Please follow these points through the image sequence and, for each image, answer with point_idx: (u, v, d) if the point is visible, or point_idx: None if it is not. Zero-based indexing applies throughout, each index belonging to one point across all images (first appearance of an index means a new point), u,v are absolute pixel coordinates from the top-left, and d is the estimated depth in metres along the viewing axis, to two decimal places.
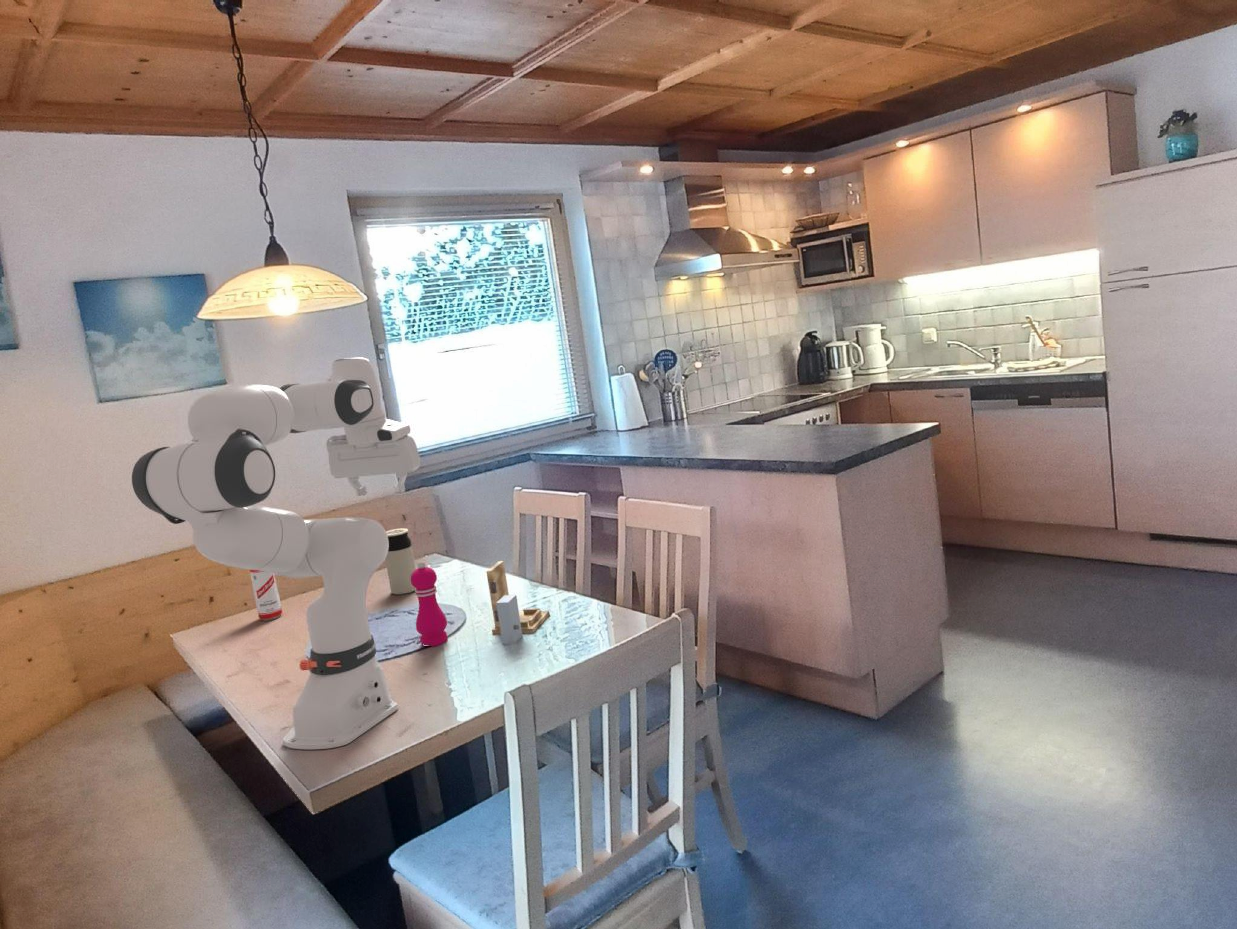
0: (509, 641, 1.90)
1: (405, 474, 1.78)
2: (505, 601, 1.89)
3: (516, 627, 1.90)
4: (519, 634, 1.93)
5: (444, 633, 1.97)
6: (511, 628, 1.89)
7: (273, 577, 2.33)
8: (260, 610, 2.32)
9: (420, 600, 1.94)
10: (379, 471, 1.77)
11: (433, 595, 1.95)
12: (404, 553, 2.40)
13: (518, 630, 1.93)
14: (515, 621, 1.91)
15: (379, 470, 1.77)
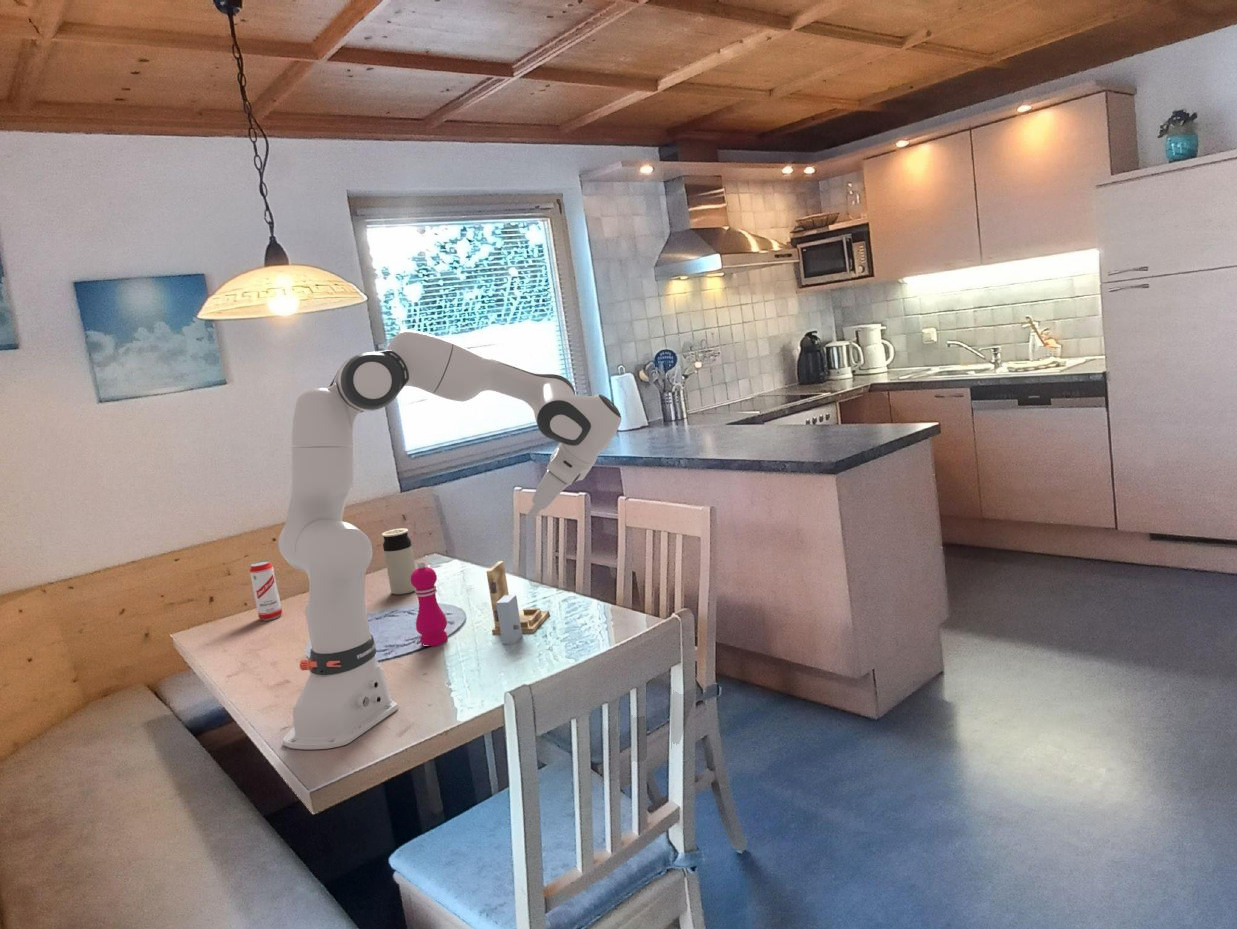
0: (509, 641, 1.90)
1: None
2: (505, 601, 1.89)
3: (516, 627, 1.90)
4: (519, 634, 1.93)
5: (444, 633, 1.97)
6: (511, 628, 1.89)
7: (273, 577, 2.33)
8: (260, 610, 2.32)
9: (420, 600, 1.94)
10: None
11: (433, 595, 1.95)
12: (404, 553, 2.40)
13: (518, 630, 1.93)
14: (515, 621, 1.91)
15: None
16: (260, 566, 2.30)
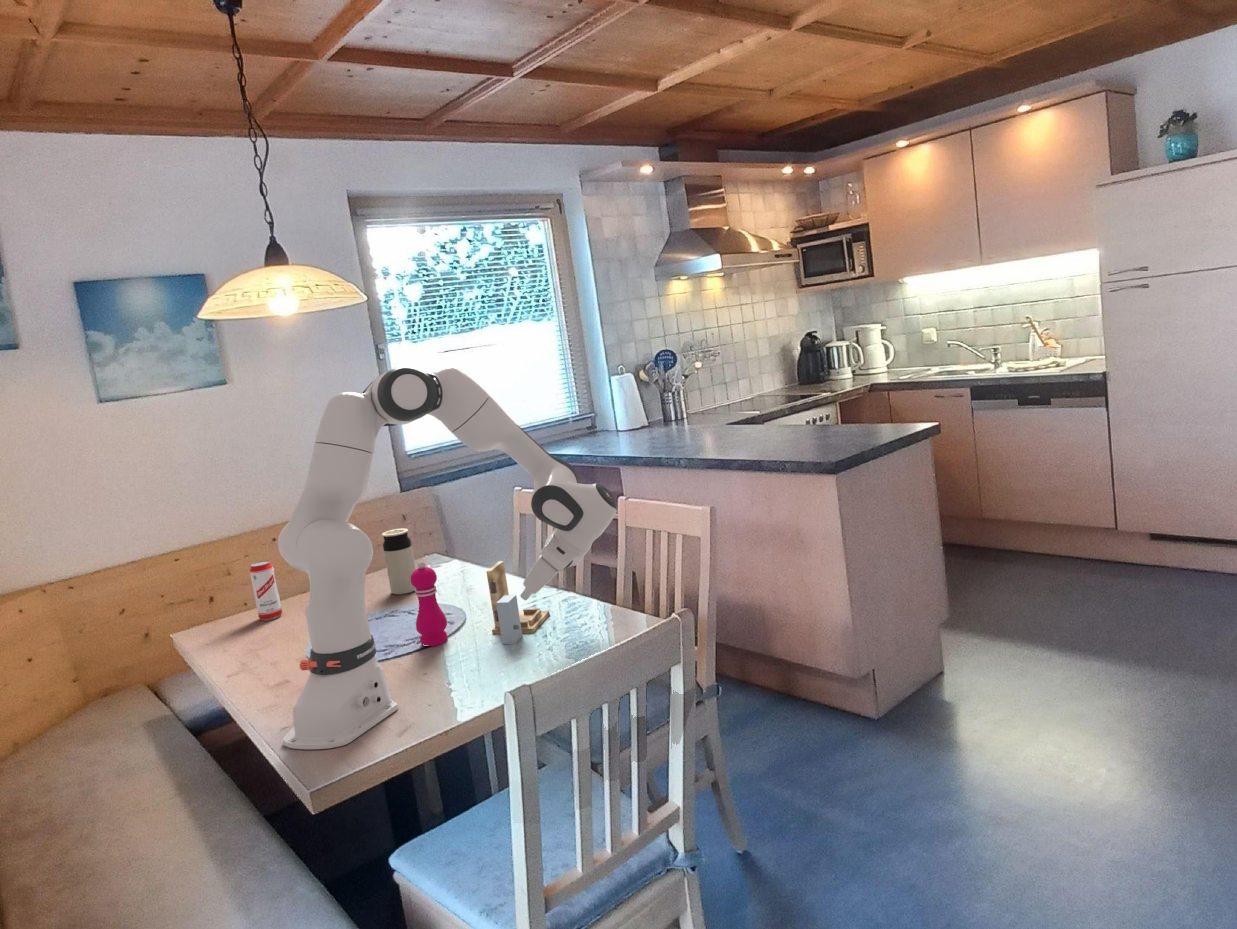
0: (509, 641, 1.90)
1: None
2: (505, 601, 1.89)
3: (516, 627, 1.90)
4: (519, 634, 1.93)
5: (444, 633, 1.97)
6: (511, 628, 1.89)
7: (273, 577, 2.33)
8: (260, 610, 2.32)
9: (420, 600, 1.94)
10: None
11: (433, 595, 1.95)
12: (404, 553, 2.40)
13: (518, 630, 1.93)
14: (515, 621, 1.91)
15: None
16: (260, 566, 2.30)
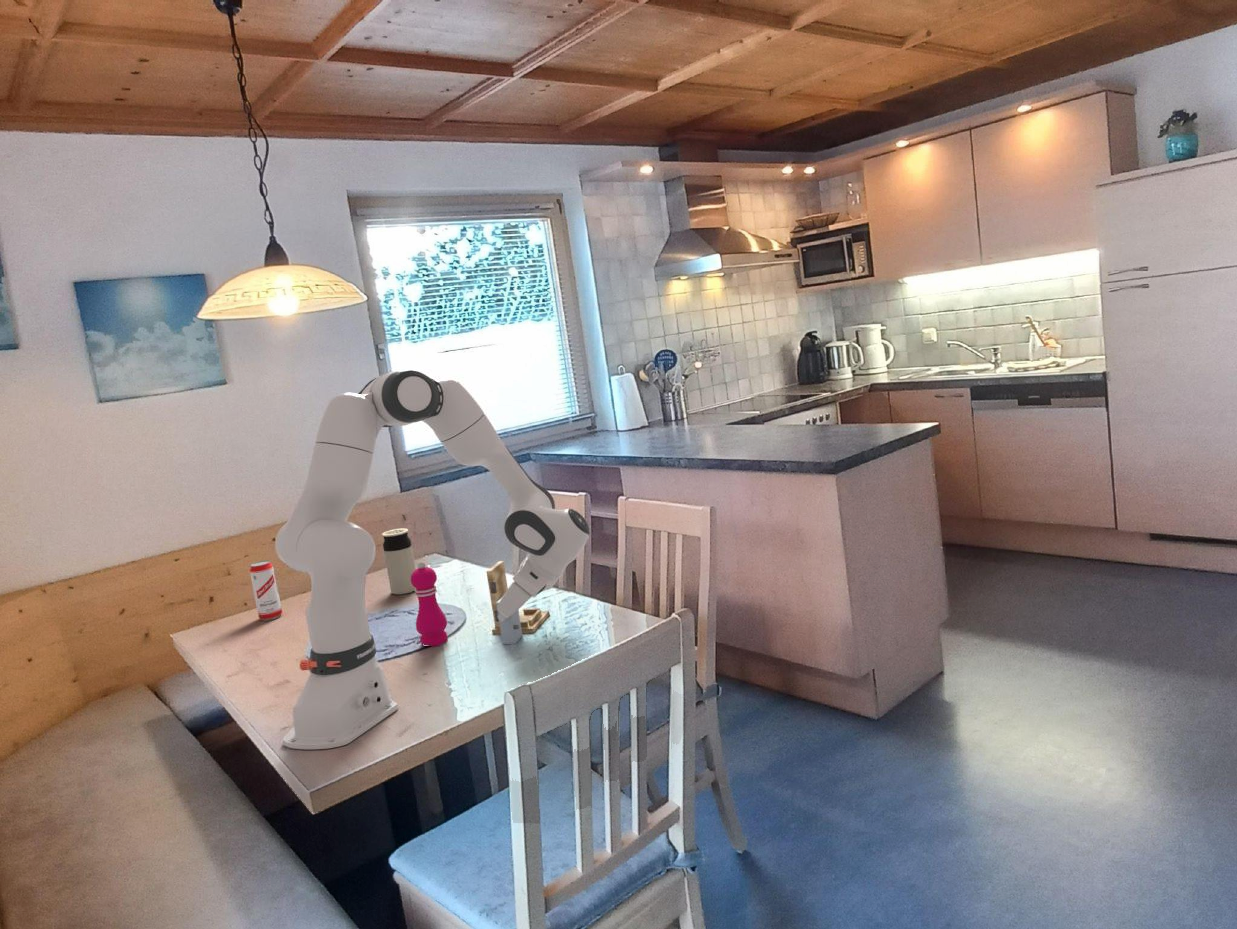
0: (509, 641, 1.90)
1: None
2: None
3: (516, 627, 1.90)
4: (519, 634, 1.93)
5: (444, 633, 1.97)
6: (511, 628, 1.89)
7: (273, 577, 2.33)
8: (260, 610, 2.32)
9: (420, 600, 1.94)
10: None
11: (433, 595, 1.95)
12: (404, 553, 2.40)
13: (518, 630, 1.93)
14: (515, 621, 1.91)
15: None
16: (260, 566, 2.30)
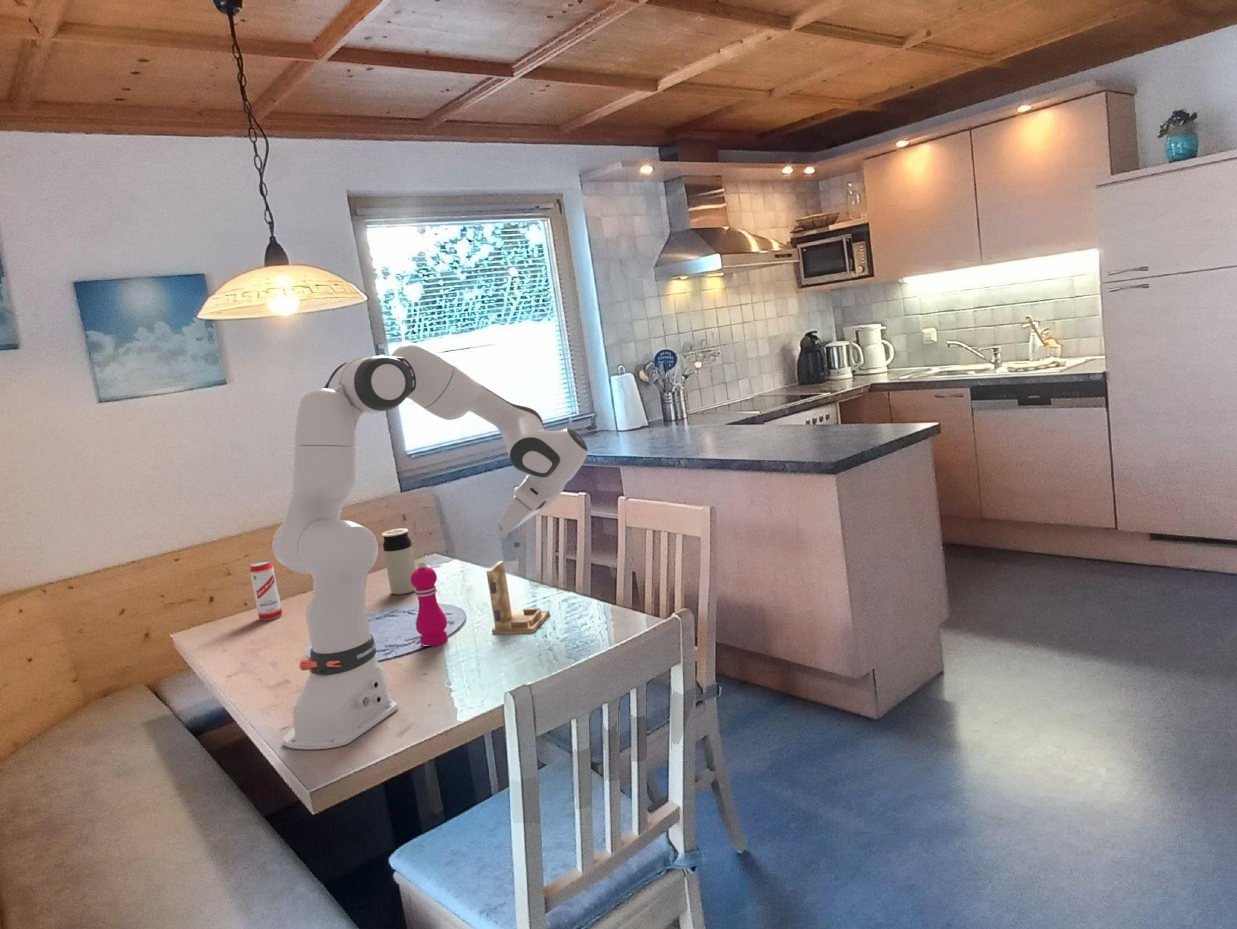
0: (510, 558, 1.97)
1: None
2: None
3: (517, 544, 1.97)
4: (520, 552, 2.00)
5: (444, 633, 1.97)
6: (512, 545, 1.96)
7: (273, 577, 2.33)
8: (260, 610, 2.32)
9: (420, 600, 1.94)
10: None
11: (433, 595, 1.95)
12: (404, 553, 2.40)
13: (519, 548, 2.00)
14: (516, 539, 1.98)
15: None
16: (260, 566, 2.30)
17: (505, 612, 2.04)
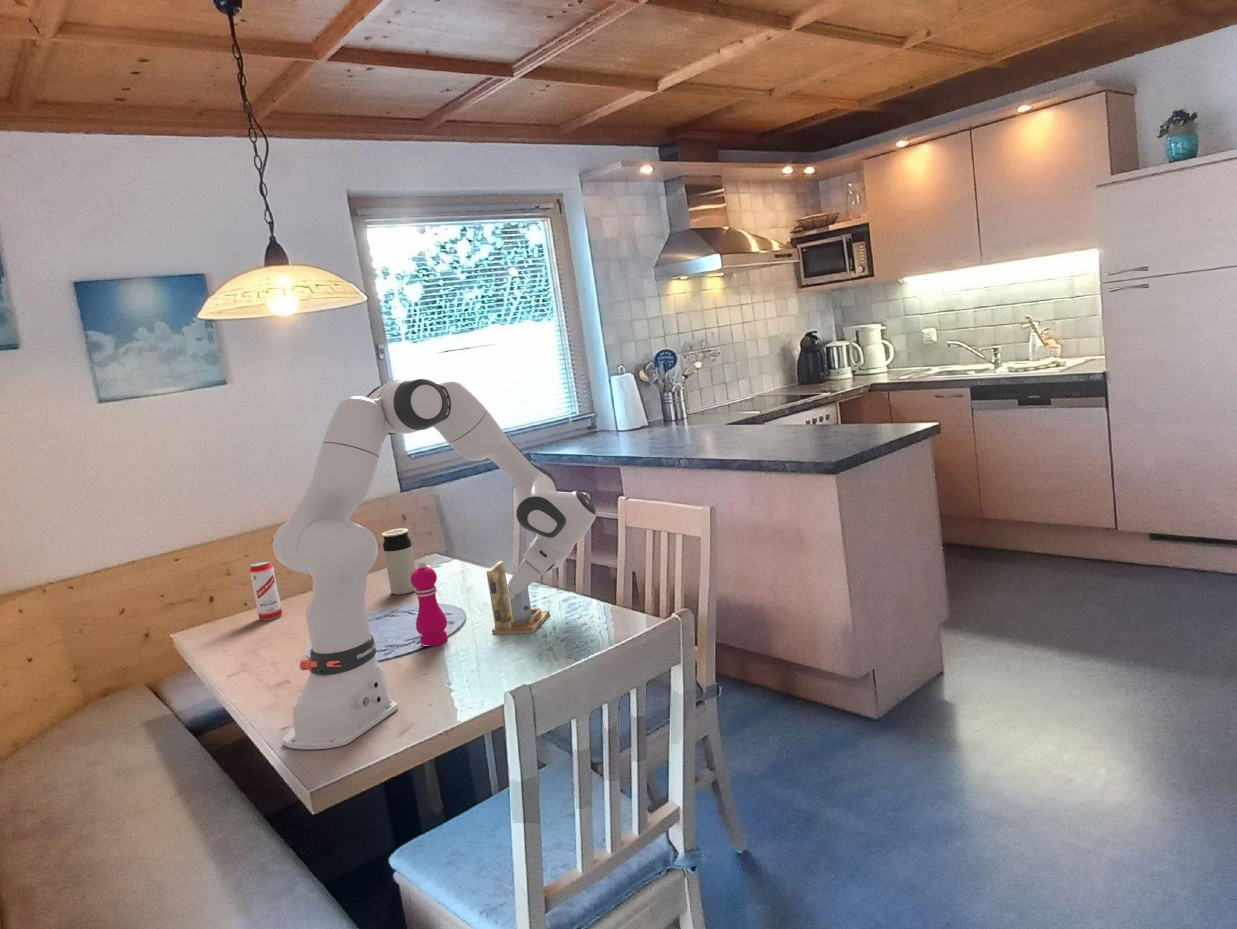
0: None
1: None
2: None
3: (526, 608, 1.99)
4: (529, 614, 2.02)
5: (444, 633, 1.97)
6: (522, 609, 1.99)
7: (273, 577, 2.33)
8: (260, 610, 2.32)
9: (420, 600, 1.94)
10: None
11: (433, 595, 1.95)
12: (404, 553, 2.40)
13: (528, 611, 2.02)
14: (525, 602, 2.01)
15: None
16: (260, 566, 2.30)
17: (505, 612, 2.04)
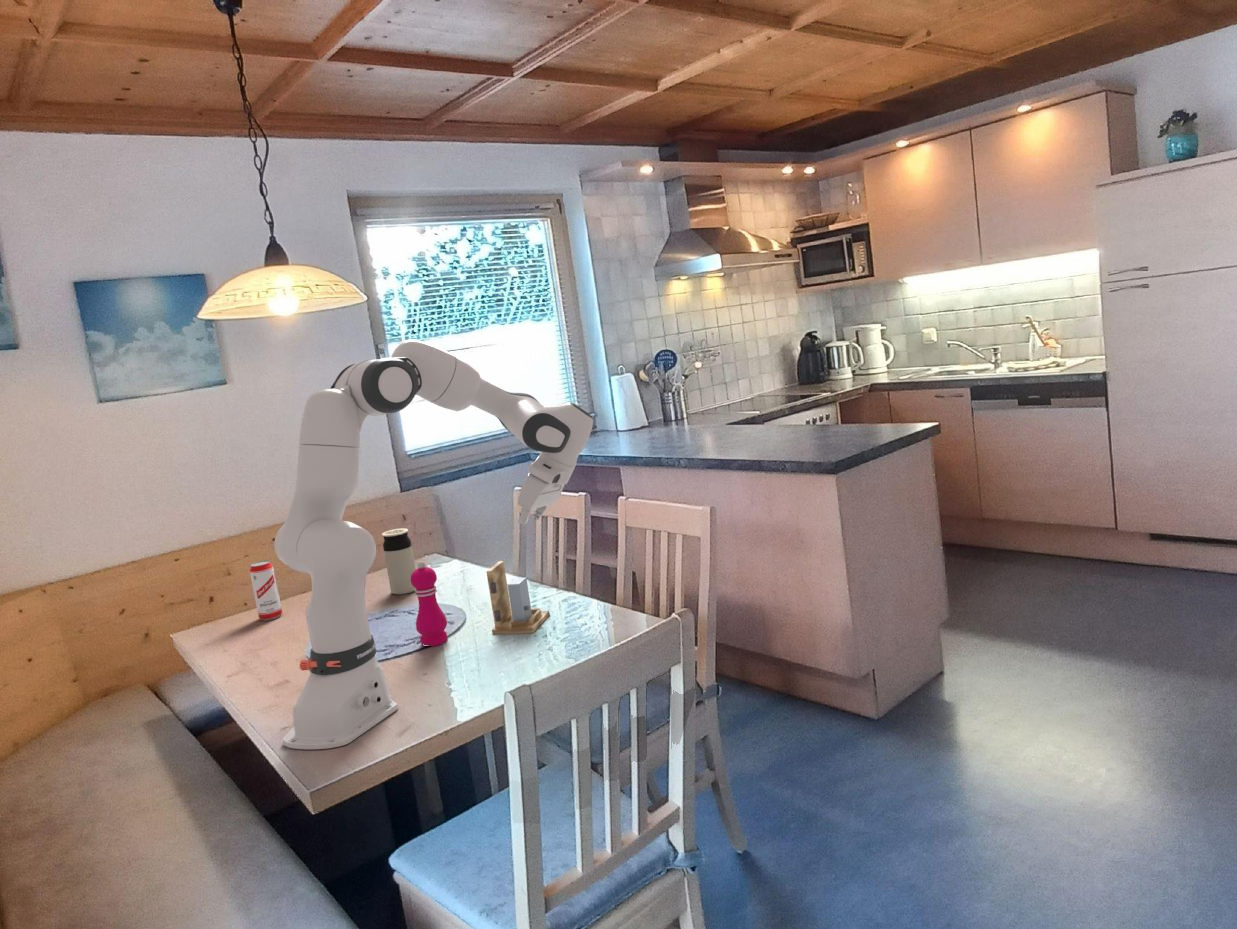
0: None
1: (527, 509, 1.91)
2: (516, 583, 1.99)
3: (526, 608, 1.99)
4: (529, 614, 2.02)
5: (444, 633, 1.97)
6: (522, 609, 1.99)
7: (273, 577, 2.33)
8: (260, 610, 2.32)
9: (420, 600, 1.94)
10: None
11: (433, 595, 1.95)
12: (404, 553, 2.40)
13: (528, 611, 2.02)
14: (525, 602, 2.01)
15: None
16: (260, 566, 2.30)
17: (505, 612, 2.04)
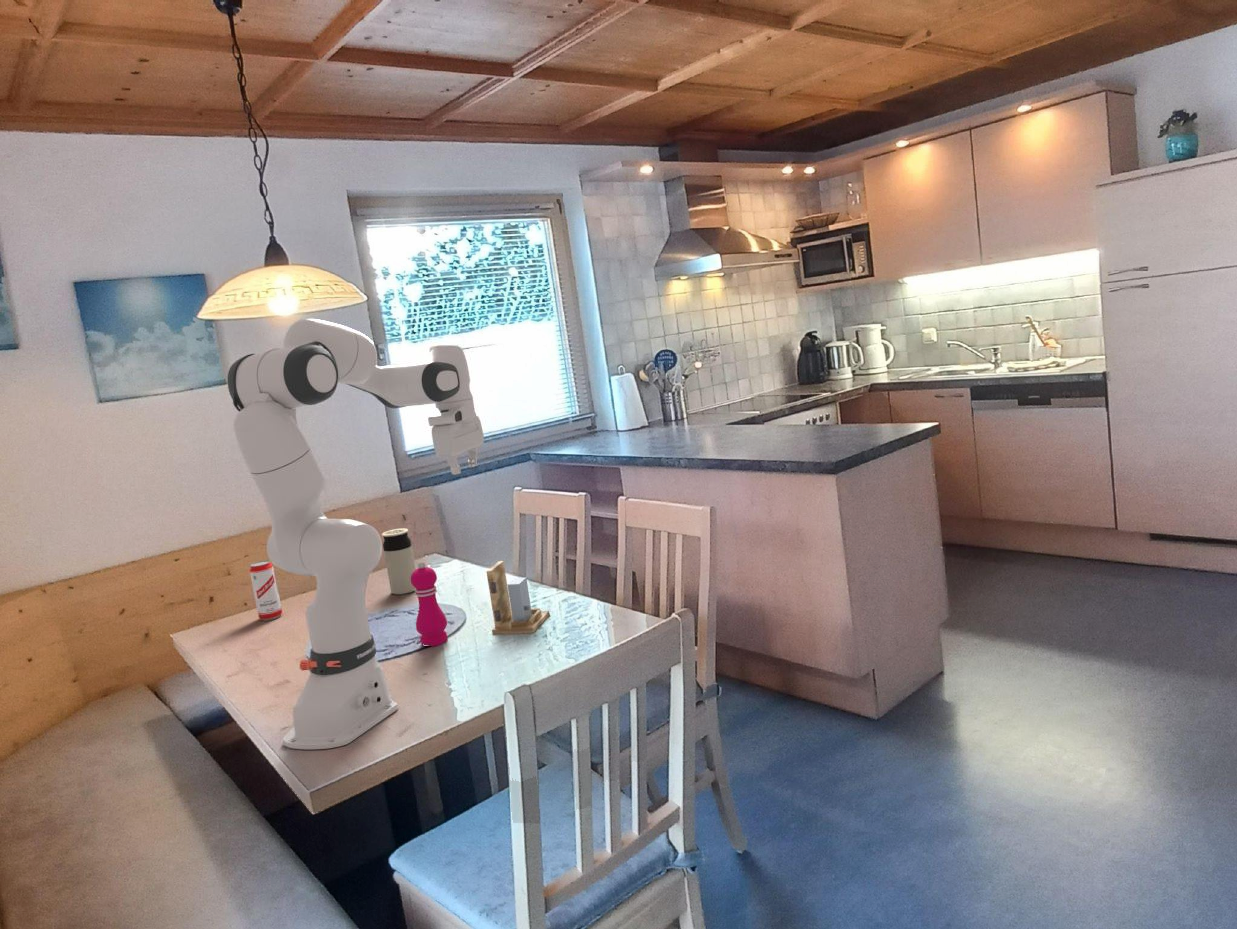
0: None
1: (451, 458, 1.92)
2: (516, 583, 1.99)
3: (526, 608, 1.99)
4: (529, 614, 2.02)
5: (444, 633, 1.97)
6: (522, 609, 1.99)
7: (273, 577, 2.33)
8: (260, 610, 2.32)
9: (420, 600, 1.94)
10: None
11: (433, 595, 1.95)
12: (404, 553, 2.40)
13: (528, 611, 2.02)
14: (525, 602, 2.01)
15: None
16: (260, 566, 2.30)
17: (505, 612, 2.04)
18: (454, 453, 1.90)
